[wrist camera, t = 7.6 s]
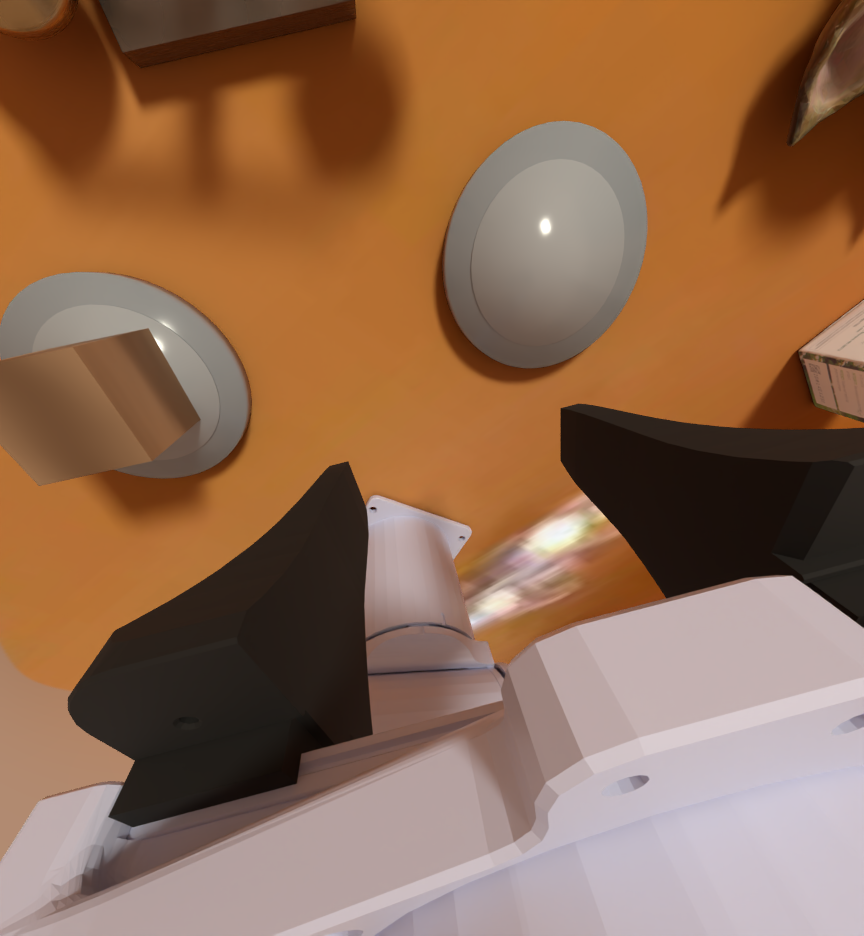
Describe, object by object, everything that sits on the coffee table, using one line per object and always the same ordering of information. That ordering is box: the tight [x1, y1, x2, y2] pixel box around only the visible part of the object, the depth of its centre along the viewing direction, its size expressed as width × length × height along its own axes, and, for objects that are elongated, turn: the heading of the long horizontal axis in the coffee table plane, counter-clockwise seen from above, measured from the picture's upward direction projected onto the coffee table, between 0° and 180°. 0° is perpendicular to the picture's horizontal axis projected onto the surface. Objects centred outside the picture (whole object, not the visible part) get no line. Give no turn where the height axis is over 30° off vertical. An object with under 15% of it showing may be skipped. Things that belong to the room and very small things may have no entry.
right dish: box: [442, 121, 647, 368], centre depth 17 cm, size 10×10×1 cm
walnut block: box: [0, 328, 201, 486], centre depth 14 cm, size 4×4×4 cm
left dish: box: [0, 272, 252, 478], centre depth 17 cm, size 10×10×1 cm
